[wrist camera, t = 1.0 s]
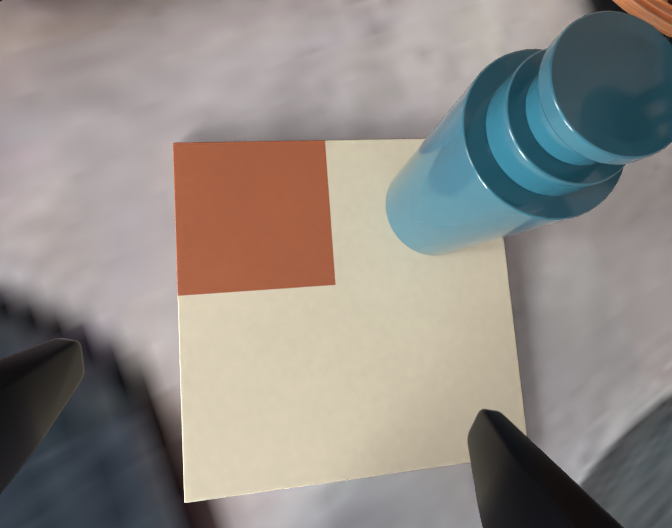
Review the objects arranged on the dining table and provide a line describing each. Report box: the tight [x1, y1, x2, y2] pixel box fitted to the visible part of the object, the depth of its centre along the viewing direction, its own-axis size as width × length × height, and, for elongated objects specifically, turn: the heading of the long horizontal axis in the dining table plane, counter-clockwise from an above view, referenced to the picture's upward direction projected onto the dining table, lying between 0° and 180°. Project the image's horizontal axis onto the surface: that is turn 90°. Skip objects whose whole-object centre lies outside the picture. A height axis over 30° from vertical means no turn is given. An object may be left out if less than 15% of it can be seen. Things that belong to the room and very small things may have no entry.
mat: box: [173, 139, 527, 503], centre depth 21 cm, size 20×20×1 cm
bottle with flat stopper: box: [386, 11, 672, 256], centre depth 16 cm, size 6×6×13 cm
